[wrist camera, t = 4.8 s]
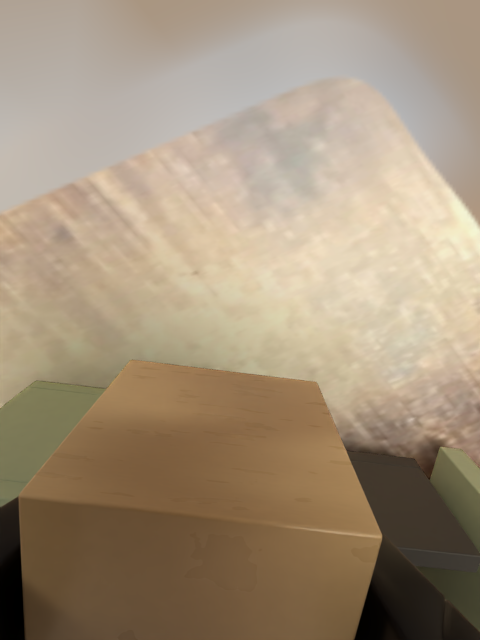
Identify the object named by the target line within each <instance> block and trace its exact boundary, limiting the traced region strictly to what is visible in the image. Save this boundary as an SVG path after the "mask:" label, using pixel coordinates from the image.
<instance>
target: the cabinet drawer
mask: <svg viewBox="0 0 480 640" xmlns="http://www.w3.org/2000/svg"><path fill="white" fill-rule="evenodd" d="M346 452H347V454H348V456H349V459H350V461H351V463H352V466H353V468H354V470H355V473H356V475H357V477H358V480H359V482H360V484H361V487H362V489H363V491H364V494H365V496H366V498H367V501H368V503H369V505H370V508H371V510H372V512H373V515H374V517H375V519H376V522H377V524H378V526H379V529H380V531H381V532H382V533H383V534H384V535H385V536H386V537H387V538H388V539H389V540H390V541H391V542H392V543H393V544H394V545H395V546H396V547H397V548H398V549H399V550H400V551H401V552H402V553H403V554H404V555H405V556H406V557H407V558H408V559H409V560H410V561H411V562H412V564H413V565H414V566H415V567H416V568H417V569H418V570H419V571H420V572H421V573H422V574H423V575H424V576H425V577H426V578H427V579H428V580H429V581H430V582H431V583H432V584H433V585H434V586H435V587H436V588H437V589H438V590H439V591H440V592H441V593H442V594H443V595H444V596H445V601H446V600H449V601H450V602H451V603H452V604H453V605H454V606H455V607H456V608H457V609H458V610H459V611H460V612H461V613H462V614H463V615H464V616H465V617H466V618H467V619H468V620H469V621H470V622H471V623H472V624H473V625H474V626H475V627H476V628H477V629H478V630H479V631H480V468H479V467H478V466H477V465H476V464H475V463H474V462H473V461H472V460H471V459H470V458H469V457H468V456H467V455H466V453H465V452H464V451H463V450H461V449H455V448H447V447H440V448H439V451H438V455H437V458H436V461H435V464H434V468H433V471H432V474H431V477H430V481H429V479H428V478H427V476H426V475H425V474H424V472H423V471H422V469H421V468H420V466H419V465H418V464H417V462H416V461H415V459H413V458H404V457H396V456H387V455H378V454H370V453H361V452H352V451H346Z"/></svg>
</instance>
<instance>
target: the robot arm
mask: <svg viewBox="0 0 480 640" xmlns="http://www.w3.org/2000/svg"><path fill="white" fill-rule="evenodd" d="M18 497H19V496H18ZM18 497H16V498H15V499H13V500H11V501H10V502H8V503H6V504H5V505H3V506H1V507H0V640H25V635H24V612H23V589H22V566H21V544H20V521H19V498H18ZM381 533H382V532H381ZM354 640H480V631H479V630H478V629H477V628H476V627H475V626H474V625H473V624H472V623H471V622H470V621H469V620H468V619H467V618H466V617H465V616H464V615H463V614H462V613H461V612H460V611H459V610H458V609H457V608H456V607H455V606H454V605H453V604H452V603H451V602H450V601H449V600H446V601H445V596H444V595H443V594H442V593H441V592H440V591H439V590H438V589H437V588H436V587H435V586H434V585H433V584H432V583H431V582H430V581H429V580H428V579H427V578H426V577H425V576H424V575H423V574H422V573H421V572H420V571H419V570H418V569H417V568H416V567H415V566H414V565H413V564H412V562H411V561H410V560H409V559H408V558H407V557H406V556H405V555H404V554H403V553H402V552H401V551H400V550H399V549H398V548H397V547H396V546H395V545H394V544H393V543H392V542H391V541H390V540H389V539H388V538H387V537H386V536H385V535H384V534H383V533H382V542H381V546H380V549H379V553H378V556H377V560H376V564H375V567H374V571H373V574H372V578H371V582H370V585H369V589H368V592H367V596H366V600H365V603H364V607H363V610H362V614H361V618H360V621H359V625H358V628H357V632H356V636H355V639H354Z"/></svg>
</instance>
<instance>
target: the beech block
mask: <svg viewBox="0 0 480 640" xmlns="http://www.w3.org/2000/svg"><path fill="white" fill-rule="evenodd" d="M18 498H19V521H20V544H21V566H22V589H23V612H24V635H25V640H354V639H355V636H356V632H357V628H358V625H359V621H360V618H361V614H362V610H363V607H364V603H365V600H366V596H367V592H368V589H369V585H370V582H371V578H372V574H373V571H374V567H375V564H376V560H377V556H378V553H379V549H380V546H381V542H382V533H381V531H380V529H379V526H378V524H377V522H376V519H375V517H374V515H373V512H372V510H371V508H370V505H369V503H368V501H367V498H366V496H365V494H364V491H363V489H362V487H361V484H360V482H359V480H358V477H357V475H356V473H355V470H354V468H353V466H352V463H351V461H350V459H349V456H348V454H347V452H346V449H345V447H344V445H343V442H342V440H341V438H340V435H339V433H338V431H337V428H336V426H335V424H334V421H333V419H332V417H331V414H330V412H329V410H328V407H327V405H326V403H325V400H324V398H323V396H322V393H321V391H320V389H319V386H318V384H317V382H312V381H304V380H295V379H287V378H279V377H271V376H262V375H254V374H246V373H237V372H229V371H221V370H213V369H204V368H196V367H188V366H179V365H171V364H163V363H155V362H146V361H138V360H130V361H129V362H128V364H127V365H126V366H125V367H124V368H123V370H122V371H121V372H120V373H119V374H118V376H117V377H116V378H115V379H114V380H113V382H112V383H111V384H110V385H109V386H108V388H107V389H106V390H105V391H104V392H103V394H102V395H101V396H100V397H99V398H98V400H97V401H96V402H95V403H94V404H93V406H92V407H91V408H90V409H89V410H88V412H87V413H86V414H85V415H84V416H83V418H82V419H81V420H80V421H79V422H78V424H77V425H76V426H75V427H74V428H73V430H72V431H71V432H70V433H69V434H68V436H67V437H66V438H65V439H64V441H63V442H62V443H61V444H60V445H59V447H58V448H57V449H56V450H55V451H54V453H53V454H52V455H51V456H50V457H49V459H48V460H47V461H46V462H45V463H44V465H43V466H42V467H41V468H40V469H39V471H38V472H37V473H36V474H35V475H34V477H33V478H32V479H31V480H30V481H29V483H28V484H27V485H26V486H25V487H24V489H23V490H22V491H21V492H20V494H19V497H18Z"/></svg>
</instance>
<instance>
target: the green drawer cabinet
mask: <svg viewBox="0 0 480 640" xmlns="http://www.w3.org/2000/svg"><path fill="white" fill-rule="evenodd" d="M105 390H106V389H104V388H95V387H87V386H78V385H70V384H61V383H53V382H44V381H35V382H34V383H32V384H31V385H30V386H29V387H27V388H26V389H24V390H23V391H22V392H20V393H19V394H18V395H17V396H15V397H14V398H13V399H11V400H10V401H9V402H8V403H6V404H5V405H4V406H2V407H1V408H0V507H1V506H3V505H5V504H6V503H8V502H10V501H11V500H13V499H15V498H16V497H18V496H19V494H20V492H21V491H22V490H23V489H24V487H25V486H26V485H27V484H28V483H29V481H30V480H31V479H32V478H33V477H34V475H35V474H36V473H37V472H38V471H39V469H40V468H41V467H42V466H43V465H44V463H45V462H46V461H47V460H48V459H49V457H50V456H51V455H52V454H53V453H54V451H55V450H56V449H57V448H58V447H59V445H60V444H61V443H62V442H63V441H64V439H65V438H66V437H67V436H68V434H69V433H70V432H71V431H72V430H73V428H74V427H75V426H76V425H77V424H78V422H79V421H80V420H81V419H82V418H83V416H84V415H85V414H86V413H87V412H88V410H89V409H90V408H91V407H92V406H93V404H94V403H95V402H96V401H97V400H98V398H99V397H100V396H101V395H102V394H103V392H104V391H105Z"/></svg>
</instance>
